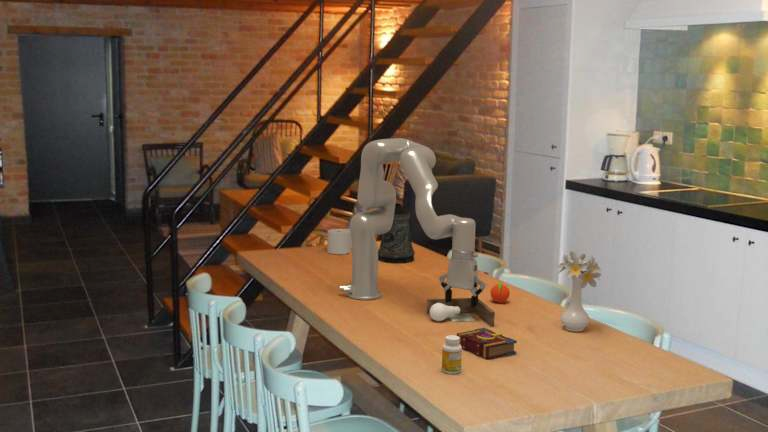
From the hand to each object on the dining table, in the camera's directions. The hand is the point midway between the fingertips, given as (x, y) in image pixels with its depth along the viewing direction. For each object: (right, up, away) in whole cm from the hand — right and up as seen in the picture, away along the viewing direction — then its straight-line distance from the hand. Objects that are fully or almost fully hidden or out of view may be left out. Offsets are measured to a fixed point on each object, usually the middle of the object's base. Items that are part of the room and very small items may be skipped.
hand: (461, 304), depth 285 cm
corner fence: (-1, -5, 0) cm, 5 cm away
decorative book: (+4, -11, -31) cm, 33 cm away
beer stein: (-22, +10, +89) cm, 92 cm away
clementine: (+16, -2, +21) cm, 27 cm away
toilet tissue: (-47, +13, +103) cm, 114 cm away
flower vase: (+37, -8, -9) cm, 39 cm away
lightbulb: (0, -2, 0) cm, 2 cm away
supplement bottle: (-7, -14, -50) cm, 52 cm away
